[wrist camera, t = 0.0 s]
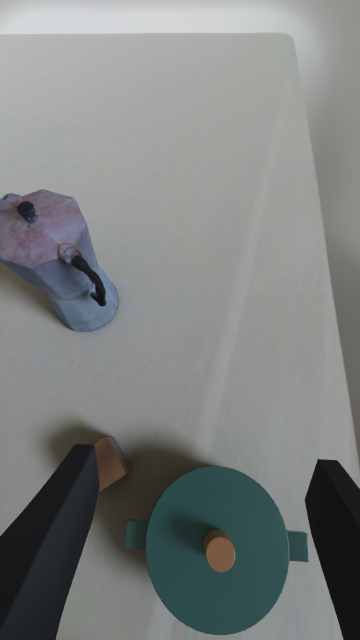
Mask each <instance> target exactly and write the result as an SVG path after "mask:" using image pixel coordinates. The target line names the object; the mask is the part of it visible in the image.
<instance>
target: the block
mask: <svg viewBox="0 0 360 640" xmlns="http://www.w3.org/2000/svg"><path fill="white" fill-rule="evenodd" d="M93 445H95V451H96V459H97V466H98V474H99V482H100V488H99V493H100V492H102V491H103V490H105V489H106V488H108V487H109V486H111V485H112V484H114V483H115V482H117V481H118V480H120V479H121V478H123V477H125V476H126V475H128V474H129V473H131V472H132V471H131V469H130V467H129V466H128V464H127V462H126V460H125V458H124V456H123V454H122V452H121V450H120V448H119V446H118V444H117V442H116V440H115V438H114V437H107V436H106V437H104V438H102V439H101V440H99V441H98V442H96V443H94V444H93Z"/></svg>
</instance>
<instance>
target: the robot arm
mask: <svg viewBox="0 0 360 640" xmlns="http://www.w3.org/2000/svg"><path fill="white" fill-rule="evenodd" d="M99 488H100V482H99V474H98V466H97V459H96V451H95V445H85V444H76V445H74V446H73V447H72V449H71V450H70V452H69V453H68V454H67V456H66V457H65V459H64V460H63V461H62V463H61V464H60V465H59V467H58V468H57V469H56V471H55V472H54V473H53V475H52V476H51V477H50V478H49V480H48V481H47V482H46V484H45V485H44V486H43V487H42V488H41V490H40V491H39V492H38V493H37V495H36V496H35V497H34V498H33V499H32V501H31V502H30V503H29V504H28V506H27V507H26V508H25V509H24V510H23V511H22V513H21V514H20V515H19V516H18V517H17V518H16V519H15V520H14V522H13V523H12V524H11V525H10V526H9V527H8V528H7V529H6V531H5V532H4V533H3V534H2V535H1V536H0V640H55V639H56V635H57V631H58V627H59V623H60V619H61V616H62V612H63V609H64V605H65V602H66V599H67V596H68V593H69V590H70V587H71V584H72V581H73V578H74V575H75V572H76V569H77V566H78V563H79V560H80V557H81V553H82V550H83V547H84V544H85V541H86V538H87V535H88V532H89V529H90V526H91V523H92V520H93V515H94V511H95V507H96V502H97V498H98V493H99ZM305 504H306V509H307V514H308V520H309V524H310V529H311V534H312V538H313V541H314V544H315V548H316V551H317V554H318V557H319V561H320V564H321V567H322V570H323V573H324V577H325V580H326V583H327V586H328V589H329V593H330V596H331V599H332V602H333V605H334V609H335V612H336V615H337V618H338V621H339V625H340V629H341V632H342V636H343V639H344V640H360V489H359V487H358V486H357V485H356V483H355V482H354V481H353V480H352V478H351V477H350V476H349V474H348V473H347V472H346V471H345V469H344V468H343V467H342V465H341V464H340V463H339V462H338V461H337V460H322V459H318V461H317V464H316V467H315V470H314V473H313V476H312V479H311V482H310V485H309V488H308V491H307V494H306V497H305Z"/></svg>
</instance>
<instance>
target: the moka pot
mask: <svg viewBox="0 0 360 640" xmlns="http://www.w3.org/2000/svg"><path fill="white" fill-rule="evenodd" d="M0 261H1V262H3V263H4V264H5V265H7V266H8V267H9V268H10V269H12V270H13V271H14V272H16V273H17V274H18V275H20V276H21V277H22V278H24V279H25V280H26V281H28V282H29V283H30V284H32V285H33V286H34V287H35V288H37V289H39V290H41V291H44V292H45V293H46V294H47V296H48V298H49V300H50V302H51V304H52V306H53V308H54V310H55V312H56V313H57V315H58V317H59V319H60V320H61V321H62V322H63V323H64V324H65V325H67V326H68V327H69V328H70V329H72V330H75V331H80V332H87V331H94V330H97V329H99V328H101V327H103V326H105V325H106V324H108V323H110V322H111V321H112V319H113V317H114V315H115V314H116V311H117V309H118V306H119V299H118V294H117V290H116V287H115V286H114V284H113V283H112V282H111V281H110V279H109V278H108V277H107V275H106V274H105V273H104V272H103V271H102V269H101V268H100V267H99V265H98V264H97V260H96V256H95V253H94V249H93V246H92V242H91V238H90V235H89V231H88V227H87V224H86V222H85V219H84V217H83V215H82V213H81V211H80V209H79V206H78V204H77V202H76V200H75V199H74V198H72V197H69V196H65V195H61V194H58V193H54V192H51V191H47V190H39V191H36V192H33V193H30V194H28V195H25V196H20V195H16V194H13V193H10V194H7V195H4V197H3V198H1V199H0Z"/></svg>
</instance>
